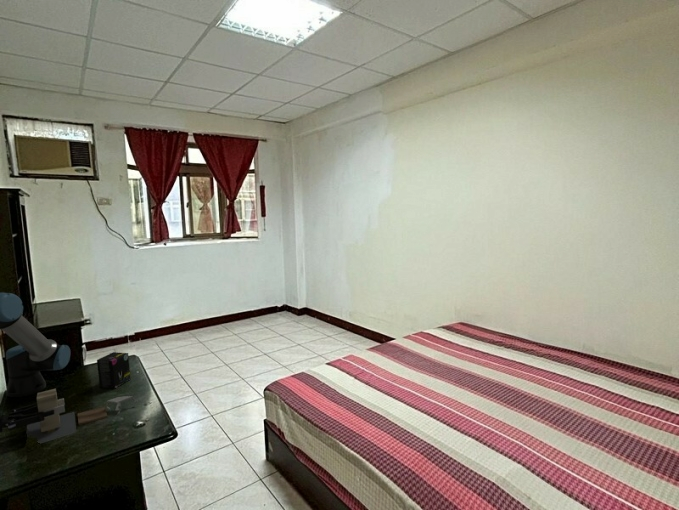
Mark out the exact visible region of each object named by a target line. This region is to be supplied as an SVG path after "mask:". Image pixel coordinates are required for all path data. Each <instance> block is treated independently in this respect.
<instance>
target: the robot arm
mask: <svg viewBox="0 0 679 510" xmlns="http://www.w3.org/2000/svg"><path fill="white" fill-rule="evenodd" d="M23 313H24V305H23V301H22V299H21V298H20V297H19V296H18V295H16V294H15V293H11V292H0V330H1V331H3V332H4V333H5V334H6V335H7V336H8V337H9V338H11V339H12V340H13V341H14V342H16V343H17V345H16V346H14V347H13V346H12V347H11V348H9V349H7V350H6V352H5V361H6V362H5V363H6V368H7V373H8V382H7V387H6V390H5V394H6V397H7V396H9V397H20V398H23V397H22V396H25V397H28V395H29V396H32V395H34V394H37V393H40V392H42V391H43V390H45V388H46V387H47V383H46V380H45V378H44V377H43V375H42V373H41V371H58V370H63V369H64V368H66V366H67V365H68V364H69V362H70V360H71V348H70V347H69V345H67V344H62V345H60V344H59V343H57V342H56V341H55V340H53V339H47V337H46V336H45V335H43V334H42V332H40V331H39V330H38V329H37V327H35V326H34V325H33V324H32V323H31V322H30V321H28V319H26V317H24V316H23ZM57 401H58V407H54V408H50V409H47V410H44V412H38V405H37V402H36V403H32V404H29V405H25V406H21V407H17V408H12V409H10V412H9V413H7V414H3V413H2V412H1V411H0V434H1V433H3V432H4V428H7V429H8V431H11V430H14V429H17V428H21V427H24V426H27V425H29V424H33V423H37V422H40V421H43V420H45V419H44V417H48V416H52V415H55V414H59V415H60V414H62V413H65V412H66V409H65V404H66V403H65V398H59V399H57Z"/></svg>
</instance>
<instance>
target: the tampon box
mask: <svg viewBox="0 0 679 510" xmlns="http://www.w3.org/2000/svg"><path fill="white" fill-rule="evenodd" d="M96 364H97V373H98V383H99V387H100V388H101V387H103V388H104V389H112V388H114V389H113V390H116V389H117V388H119V387H120V385H121V384H122V383H124V382H126V381H127V380H129V379H130V380H131V369H130V358H129V352H114V351H113V352H111V353H108V354H107V355H104V356H102V357H99V358H98V359H97V360H96ZM130 380H129V381H130ZM127 382H128V381H127ZM127 382H126V383H127ZM124 384H125V383H124ZM122 385H123V384H122ZM122 385H121V386H122ZM118 386H119V387H118ZM115 388H116V389H115Z"/></svg>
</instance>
